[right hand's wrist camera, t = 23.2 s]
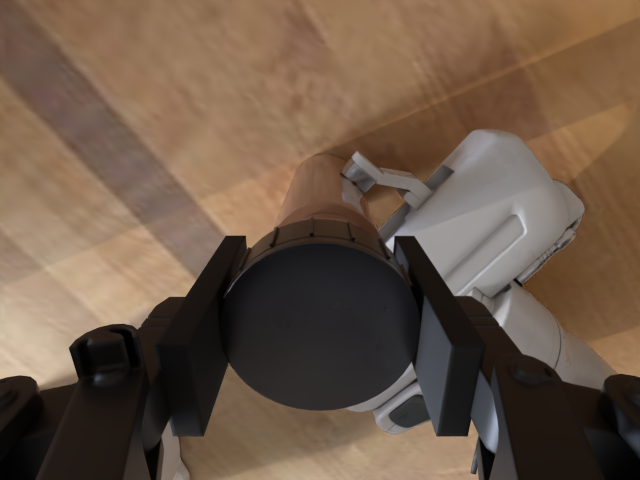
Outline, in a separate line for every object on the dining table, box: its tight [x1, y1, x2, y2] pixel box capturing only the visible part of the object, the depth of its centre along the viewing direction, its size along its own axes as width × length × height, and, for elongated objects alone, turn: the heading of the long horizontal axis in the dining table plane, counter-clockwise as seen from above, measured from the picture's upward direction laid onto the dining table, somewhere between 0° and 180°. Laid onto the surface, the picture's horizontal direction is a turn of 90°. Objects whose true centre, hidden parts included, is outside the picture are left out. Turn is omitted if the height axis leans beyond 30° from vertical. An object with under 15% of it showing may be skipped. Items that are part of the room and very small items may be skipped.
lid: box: [219, 217, 421, 411], centre depth 11 cm, size 6×6×2 cm
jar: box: [272, 154, 382, 239], centre depth 21 cm, size 5×5×15 cm
